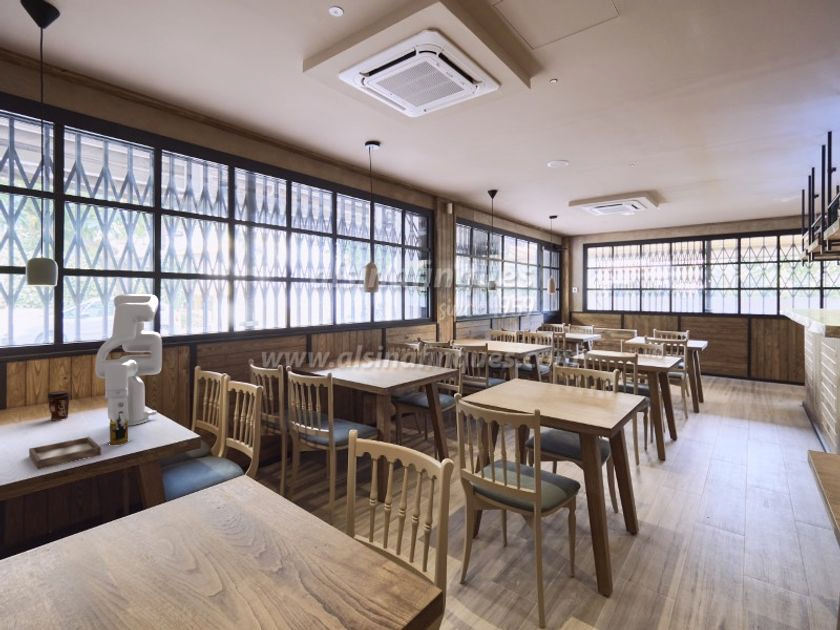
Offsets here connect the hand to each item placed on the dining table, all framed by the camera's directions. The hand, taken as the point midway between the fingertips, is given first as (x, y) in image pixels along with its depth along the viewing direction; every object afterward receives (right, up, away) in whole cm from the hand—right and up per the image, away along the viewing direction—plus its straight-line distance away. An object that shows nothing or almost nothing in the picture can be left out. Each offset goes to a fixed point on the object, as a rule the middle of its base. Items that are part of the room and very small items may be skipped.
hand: (117, 436), depth 174 cm
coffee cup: (-49, -1, +30) cm, 58 cm away
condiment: (0, -3, +1) cm, 3 cm away
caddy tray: (-10, -3, -14) cm, 17 cm away
